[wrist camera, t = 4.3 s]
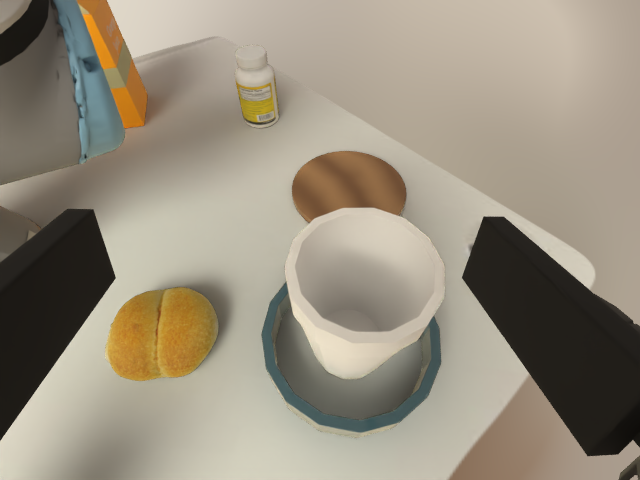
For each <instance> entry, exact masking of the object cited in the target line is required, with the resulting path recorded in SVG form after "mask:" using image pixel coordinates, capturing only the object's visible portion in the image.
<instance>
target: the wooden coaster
mask: <svg viewBox="0 0 640 480" xmlns="http://www.w3.org/2000/svg"><path fill="white" fill-rule="evenodd" d="M292 196H293V201H294V204H295V207H296V208H297V210H298V212H299V213H300V214H301V216H302V217H303V218H304V219H305V220H306V221H308V222H309V223H310V222H311V221H312V220H313V219H314V218H317V217H320V216H322V215H325V214H328V213H330V212H333V211H336V210H338V209H341V208H376V209H379V210H382V211H385V212H388V213H391V214H394V215H397V216H399V215H400V214H401V212H402V210H403V207H404V204H405V200H406V188H405V184H404V182H403V180H402V178H401V176H400V175H399V173H398V172H397V171H396V170H395V169H394V168H393V167H392V166H391V165H389V164H388V163H386V162H385V161H383V160H381V159H379V158H377V157H375V156H372V155H369V154H365V153H360V152H353V151H339V152H332V153H327V154H324V155H321V156H318V157H316V158H314V159H312V160H310V161H309V162H307V163H306V164H305V165H304V166H303V167H302V168H301V169H300V170H299V171H298V173H297V174H296V176H295V178H294V181H293V185H292Z"/></svg>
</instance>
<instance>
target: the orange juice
mask: <svg viewBox="0 0 640 480" xmlns="http://www.w3.org/2000/svg"><path fill="white" fill-rule="evenodd" d="M77 2H78V5H79V7H80V10H81V12H82V15H83V17H84V20H85V22H86V25H87V28H88V30H89V33H90V35H91V38H92V41H93V43H94V47H95V50H96V52H97V55H98V57H99V60H100V64H101V66H102V68H103V71H104V73H105V76H106V78H107V81H108V83H109V86H110V89H111V91H112V94H113V97H114V100H115V102H116V105H117V108H118V111H119V113H120V116H121V119H122V122H123V126H124V128H130V127H138V126H144V123H145V114H146V106H147V97H148V95H147V92H146V90H145V88H144V85H143V83H142V81H141V78H140V76H139V74H138V71H137V69H136V67H135V64H134V62H133V60H132V57H131V54H130V52H129V50H128V48H127V45H126V43H125V41H124V39H123V37H122V34H121V32H120V30H119V28H118V25H117V23H116V21H115V18H114V16H113V14H112V11H111V9H110V7H109V5H108V2H107V0H77Z"/></svg>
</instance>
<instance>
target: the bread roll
mask: <svg viewBox="0 0 640 480" xmlns="http://www.w3.org/2000/svg"><path fill="white" fill-rule="evenodd" d="M218 329H219V323H218V318H217V316H216V313H215V310H214V308H213V306H212V305H211V303H210V302H209V301H208V299H207V298H206V297H204V296H203V295H202V294H200V293H199V292H196V291H194V290H191V289H189V288H186V287H175V288H170V289H164V290H155V291H148V292H145V293H142V294H140V295H137V296H135V297H133V298H132V299H130V300H129V301H128V302H126V303H125V304H124V305H123V306H122V308H121V309H120V310H119V312H118V313H117V315H116V317H115V319H114V322H113V323H112V324H111V329H110V331H109V335H108V339H107V343H106V347H105V358H106V360H107V361H108V362H109V363H110V364H111V366H112V368H113V370H114V371H115V372H116V373H117V374H118V375H119V376H121V377H123V378H127V379H131V380H135V381H145V380H151V379H156V378H161V377H181V376H185V375H187V374H189V373H191V372H193V371H194V370H195V369H196V368H197V367H198V366H199V365H200V364H201V362H202V361H203V360H204V359H205V357H206V356H207V355H208V353H209V352H210V350H211V348H212V347H213V345H214V343H215V341H216V338H217V335H218Z"/></svg>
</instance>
